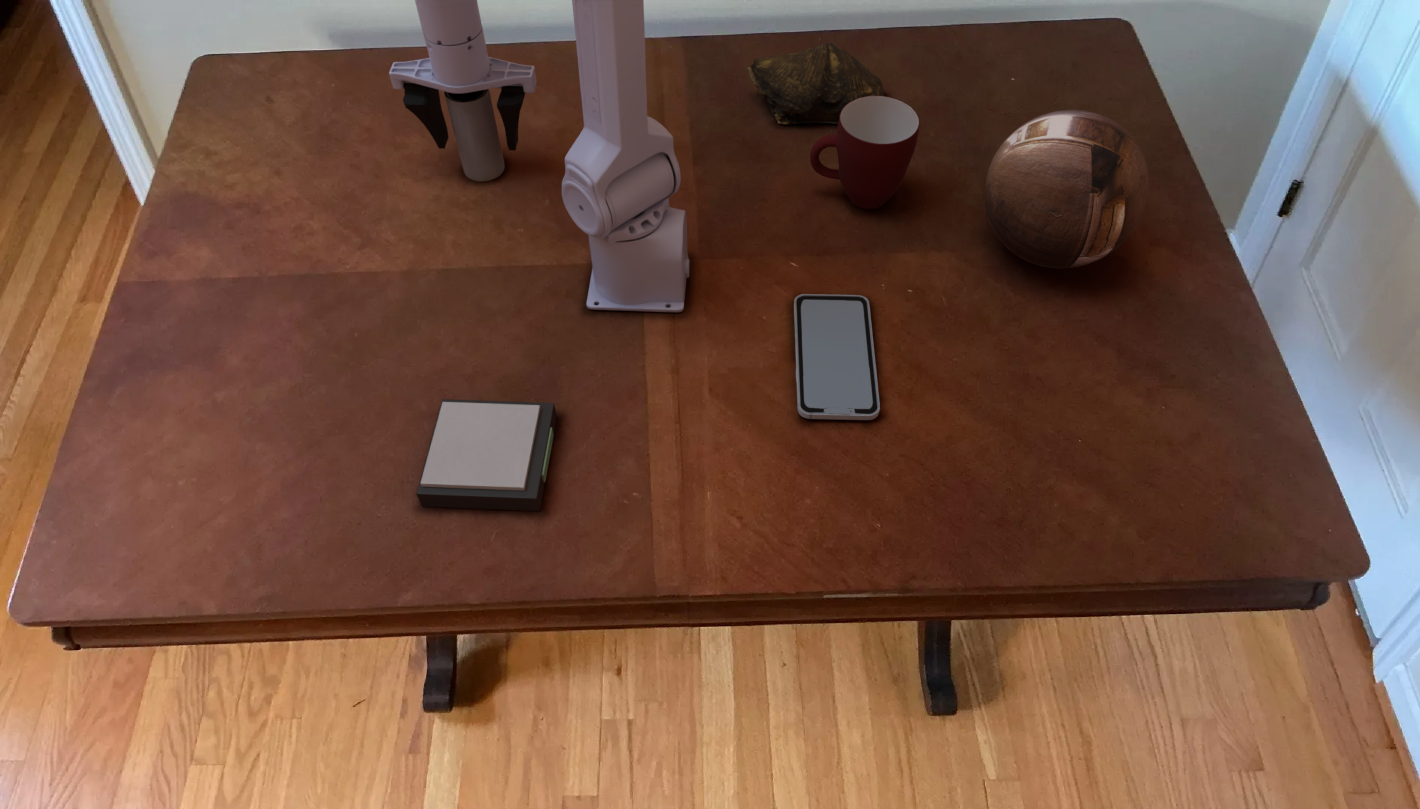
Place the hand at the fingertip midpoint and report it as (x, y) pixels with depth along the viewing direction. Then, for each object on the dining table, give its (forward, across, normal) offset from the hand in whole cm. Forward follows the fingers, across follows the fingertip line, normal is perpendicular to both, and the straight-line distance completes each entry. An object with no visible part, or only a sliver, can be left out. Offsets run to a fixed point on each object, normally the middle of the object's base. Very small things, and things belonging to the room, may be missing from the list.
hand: (478, 143), depth 108 cm
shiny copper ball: (+3, -60, +10) cm, 61 cm away
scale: (+3, -8, +39) cm, 40 cm away
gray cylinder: (+4, 0, 0) cm, 4 cm away
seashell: (+3, -37, -13) cm, 39 cm away
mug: (+3, -41, +3) cm, 41 cm away
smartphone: (+3, -38, +26) cm, 46 cm away
